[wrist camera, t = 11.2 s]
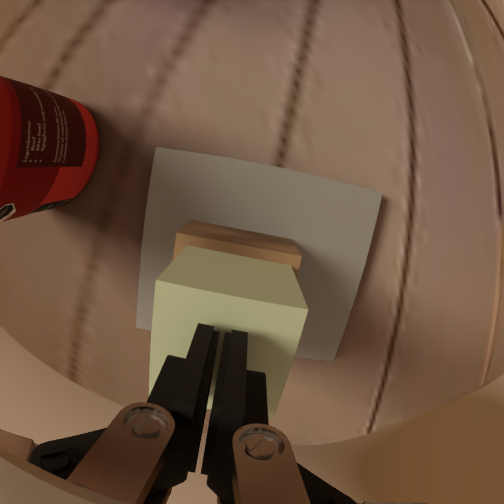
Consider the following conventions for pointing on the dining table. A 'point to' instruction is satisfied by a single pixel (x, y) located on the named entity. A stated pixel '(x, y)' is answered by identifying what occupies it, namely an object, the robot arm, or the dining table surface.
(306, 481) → the robot arm
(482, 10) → the dining table surface
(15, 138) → the canned food
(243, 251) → the walnut brick
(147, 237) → the plate
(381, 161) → the dining table surface
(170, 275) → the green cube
